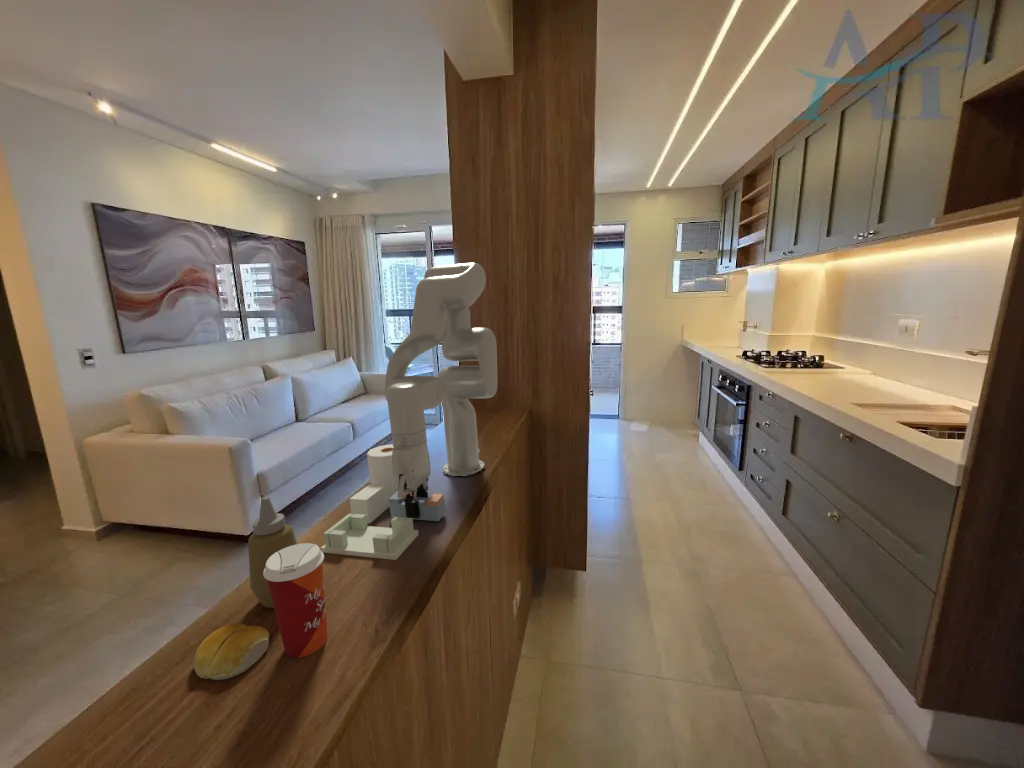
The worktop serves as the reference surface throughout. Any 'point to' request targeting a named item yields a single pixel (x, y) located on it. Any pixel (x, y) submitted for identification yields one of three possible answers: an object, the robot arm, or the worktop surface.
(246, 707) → the worktop surface
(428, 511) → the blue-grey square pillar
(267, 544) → the squeeze bottle
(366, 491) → the block
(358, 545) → the jig
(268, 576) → the paper cup
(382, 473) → the toilet paper
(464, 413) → the robot arm
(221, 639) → the bread roll
